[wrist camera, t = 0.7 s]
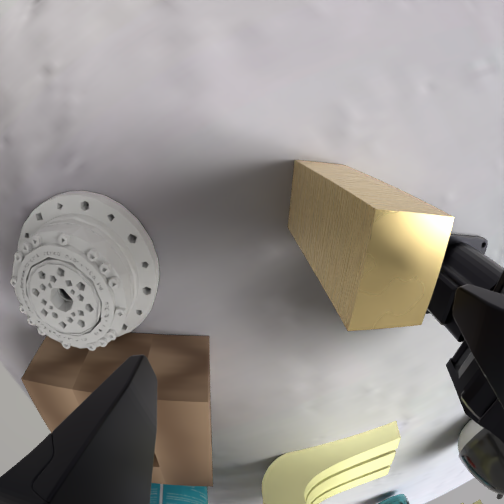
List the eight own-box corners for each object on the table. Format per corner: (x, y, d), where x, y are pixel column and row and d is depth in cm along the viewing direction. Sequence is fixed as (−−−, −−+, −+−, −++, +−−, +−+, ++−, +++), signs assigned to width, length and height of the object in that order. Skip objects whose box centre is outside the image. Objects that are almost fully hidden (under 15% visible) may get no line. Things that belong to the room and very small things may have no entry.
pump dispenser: (441, 450, 36) (476, 519, 22) (461, 415, 32) (508, 494, 18) (486, 426, 36) (523, 486, 22) (508, 388, 32) (556, 453, 18)
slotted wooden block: (209, 336, 21) (208, 402, 16) (211, 432, 26) (212, 486, 21) (53, 325, 20) (21, 378, 15) (90, 421, 25) (77, 470, 19)
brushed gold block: (344, 164, 18) (454, 217, 8) (335, 229, 19) (421, 324, 10) (294, 159, 17) (375, 208, 8) (287, 227, 19) (347, 330, 10)
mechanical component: (5, 242, 17) (87, 345, 21) (-29, 269, 13) (69, 385, 17) (99, 156, 16) (190, 288, 20) (67, 169, 12) (185, 330, 16)
